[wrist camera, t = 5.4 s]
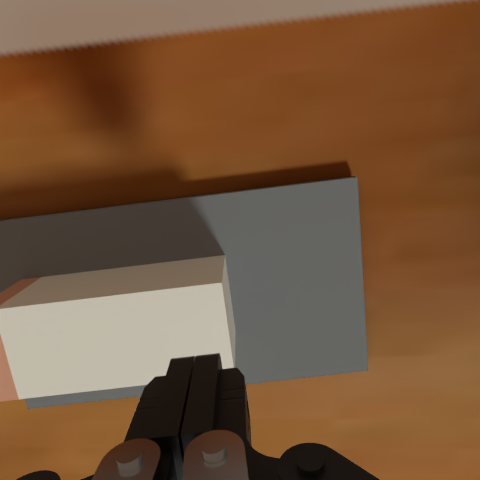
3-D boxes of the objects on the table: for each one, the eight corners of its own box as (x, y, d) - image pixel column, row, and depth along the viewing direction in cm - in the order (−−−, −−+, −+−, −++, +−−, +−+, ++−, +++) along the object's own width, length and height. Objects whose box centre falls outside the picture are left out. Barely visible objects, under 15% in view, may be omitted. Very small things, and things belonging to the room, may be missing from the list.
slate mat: (354, 176, 19) (357, 177, 19) (365, 365, 21) (368, 370, 21) (-18, 222, 20) (-24, 224, 19) (32, 402, 22) (27, 408, 21)
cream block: (221, 282, 16) (-32, 312, 16) (234, 374, 16) (-5, 401, 17) (225, 254, 19) (21, 279, 20) (235, 330, 20) (41, 353, 21)
